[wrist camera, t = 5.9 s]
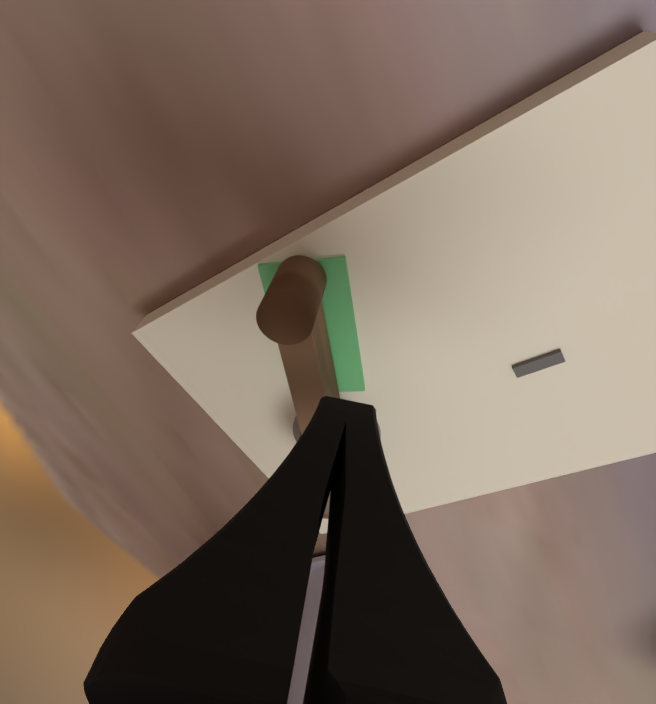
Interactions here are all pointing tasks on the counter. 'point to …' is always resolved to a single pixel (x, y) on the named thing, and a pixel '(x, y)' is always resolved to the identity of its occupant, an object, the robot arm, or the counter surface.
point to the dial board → (467, 300)
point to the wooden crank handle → (300, 334)
